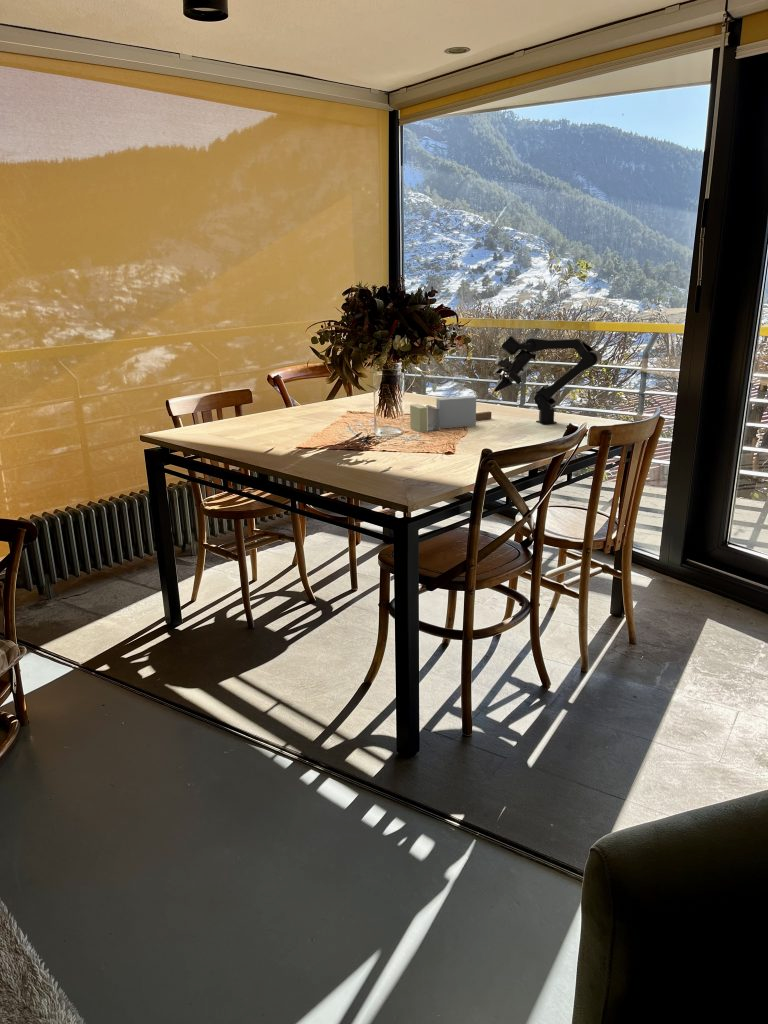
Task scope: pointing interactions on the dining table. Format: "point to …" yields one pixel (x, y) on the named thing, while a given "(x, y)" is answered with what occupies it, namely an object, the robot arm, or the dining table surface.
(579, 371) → the robot arm
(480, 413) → the rail
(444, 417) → the boxed book
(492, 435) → the dining table surface
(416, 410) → the shelved book
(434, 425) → the bookend
